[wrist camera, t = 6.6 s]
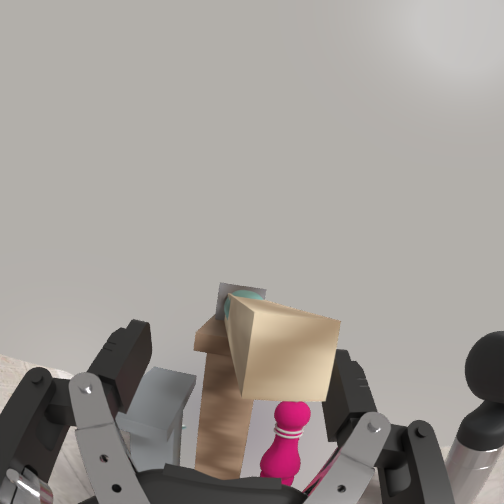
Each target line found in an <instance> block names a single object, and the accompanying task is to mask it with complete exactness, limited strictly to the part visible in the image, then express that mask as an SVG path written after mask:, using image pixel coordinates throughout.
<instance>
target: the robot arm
mask: <svg viewBox="0 0 504 504" xmlns="http://www.w3.org/2000/svg"><path fill="white" fill-rule="evenodd" d="M151 355H152V342H151V332H150V324H149V323H148V322H144V321H139V320H135V319H133V320H131V322H130V323H129V325H128V326H127V328H126V329H125V328H119V329H118V330H116V331H115V332H113V333H112V334H111V336H110V337H109V338H108V340H107V343H105V344H104V346H103V349H101V351H100V352H99V353H98V355H97V357H96V358H95V360H94V361H93V363H92V364H91V366H90V367H89V369H88V371H87V372H84V373H79V374H77V375H75V376H74V377H72V379H71V380H70V379H59V378H52V376H51V374H50V372H49V371H48V370H47V369H45V368H42V367H36V368H33V369H31V370H29V371H28V372H27V373H26V374H25V376H24V377H23V379H22V380H21V382H20V383H19V385H18V386H17V388H16V389H15V391H14V393H13V394H12V396H11V397H10V399H9V401H8V402H7V404H6V406H5V407H4V409H3V411H2V412H1V414H0V504H53V494H52V491H51V489H50V487H49V486H48V485H47V483H48V481H49V478H50V475H51V472H52V470H53V467H54V464H55V462H56V459H57V456H58V454H59V451H60V449H61V446H62V444H63V442H64V439H65V437H66V435H67V432H68V430H69V428H70V426H77V430H75V435H76V439H77V443H78V446H79V450H80V453H81V456H82V460H83V463H84V466H85V469H86V472H87V474H88V477H89V480H90V483H91V485H92V488H93V490H94V493H95V496H93V497H91V498H89V499H87V500H85V501H82V502H80V503H78V504H357V502H358V500H359V499H360V497H361V496H362V494H363V492H364V491H365V489H366V487H367V485H368V484H369V482H370V480H371V478H372V476H373V474H374V472H375V469H374V468H373V467H377V469H378V475H379V481H380V488H381V495H382V503H383V504H472V503H473V501H474V500H475V498H476V497H477V495H478V494H479V492H480V490H481V489H482V487H483V486H484V484H485V482H486V480H487V479H488V477H489V475H490V473H491V471H492V469H493V468H494V466H495V464H496V462H497V460H498V458H499V456H500V454H501V452H502V450H503V447H504V331H497V332H493V333H489V334H487V335H486V336H484V337H482V338H481V339H480V340H478V341H477V342H476V344H475V345H474V346H473V347H472V349H471V350H470V352H469V354H468V357H467V359H466V363H465V376H466V381H467V384H468V386H469V388H470V390H471V391H472V392H473V394H474V395H475V396H477V397H478V398H480V399H483V400H484V402H483V403H482V404H481V405H480V406H479V407H478V408H477V409H475V410H474V411H473V412H471V413H470V414H468V415H467V416H466V417H465V418H464V419H463V421H462V422H461V424H460V427H459V430H458V432H457V435H456V437H455V440H454V442H453V444H452V446H451V449H450V451H449V453H448V456H447V458H446V460H445V462H444V460H443V457H442V454H441V450H440V447H439V444H438V441H437V438H436V435H435V433H434V430H433V428H432V426H431V425H430V424H429V423H427V422H425V421H422V420H416V421H413V422H412V423H411V424H410V425H409V426H408V427H406V426H399V425H394V424H390V422H389V420H388V419H387V418H386V417H385V416H384V415H383V414H381V413H378V412H377V409H376V406H375V403H374V400H373V397H372V394H371V391H370V388H369V387H368V382H367V380H366V376H365V374H364V371H363V369H362V367H361V366H360V365H359V364H358V363H357V362H356V361H351V359H350V356H349V353H348V351H347V350H340V349H336V353H335V358H334V363H333V368H332V373H331V378H330V383H329V387H328V392H327V396H326V401H322V407H323V413H324V419H325V424H326V430H327V437H328V442H337V445H338V447H337V448H336V449H335V451H334V452H333V454H332V455H331V457H330V458H329V459H328V461H327V462H326V464H325V465H324V466H323V468H322V469H321V470H320V472H319V473H318V474H317V476H316V477H315V478H314V479H313V480H312V481H311V483H310V484H309V485H308V486H307V487H306V488H305V489H304V490H303V492H301V491H299V490H297V489H295V488H293V487H290V486H287V485H284V484H282V479H281V478H268V477H247V478H239V479H229V480H221V479H218V478H215V477H212V476H210V475H207V474H204V473H202V472H199V471H197V470H194V469H191V468H186V467H181V466H176V465H172V464H168V463H165V466H164V469H150V470H145V471H141V472H138V470H137V468H136V466H135V464H134V462H133V460H132V458H131V455H130V453H129V451H128V449H127V446H126V444H125V442H124V439H123V437H122V434H121V432H120V429H119V427H118V424H117V421H116V419H115V418H116V416H117V414H118V412H121V413H124V414H127V411H128V409H129V407H130V404H131V402H132V400H133V397H134V395H135V393H136V391H137V388H138V386H139V384H140V381H141V379H142V377H143V375H144V373H145V370H146V368H147V366H148V364H149V361H150V359H151Z"/></svg>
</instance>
